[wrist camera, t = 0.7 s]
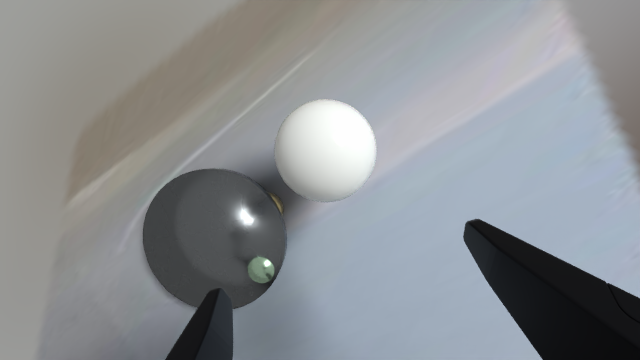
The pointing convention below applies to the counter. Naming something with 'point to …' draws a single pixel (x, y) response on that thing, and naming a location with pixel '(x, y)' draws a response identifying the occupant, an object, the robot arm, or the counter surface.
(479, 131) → the counter surface
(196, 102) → the counter surface
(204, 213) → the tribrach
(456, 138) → the counter surface
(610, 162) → the counter surface
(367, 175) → the lightbulb
